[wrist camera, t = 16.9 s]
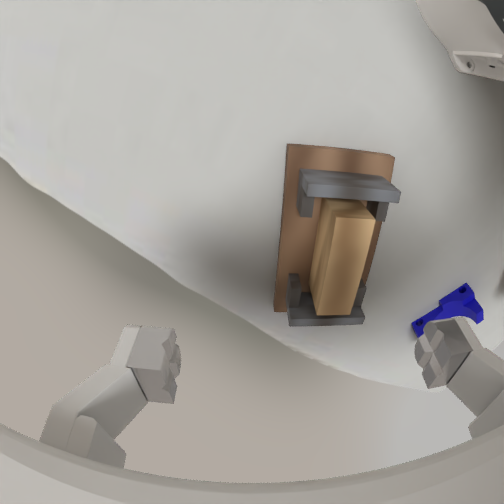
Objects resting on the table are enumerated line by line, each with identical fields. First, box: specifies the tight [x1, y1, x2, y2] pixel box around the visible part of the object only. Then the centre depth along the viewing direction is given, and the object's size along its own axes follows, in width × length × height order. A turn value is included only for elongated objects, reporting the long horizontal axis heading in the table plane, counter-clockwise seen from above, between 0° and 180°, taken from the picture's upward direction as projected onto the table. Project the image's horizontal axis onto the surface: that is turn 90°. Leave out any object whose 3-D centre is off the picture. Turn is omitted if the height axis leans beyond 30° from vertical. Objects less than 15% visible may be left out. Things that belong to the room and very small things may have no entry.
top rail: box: [309, 197, 376, 315], centre depth 32 cm, size 4×12×6 cm, turn 178°
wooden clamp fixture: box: [274, 144, 401, 326], centre depth 33 cm, size 12×22×6 cm, turn 178°
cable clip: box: [412, 283, 484, 338], centre depth 41 cm, size 12×4×6 cm, turn 125°
